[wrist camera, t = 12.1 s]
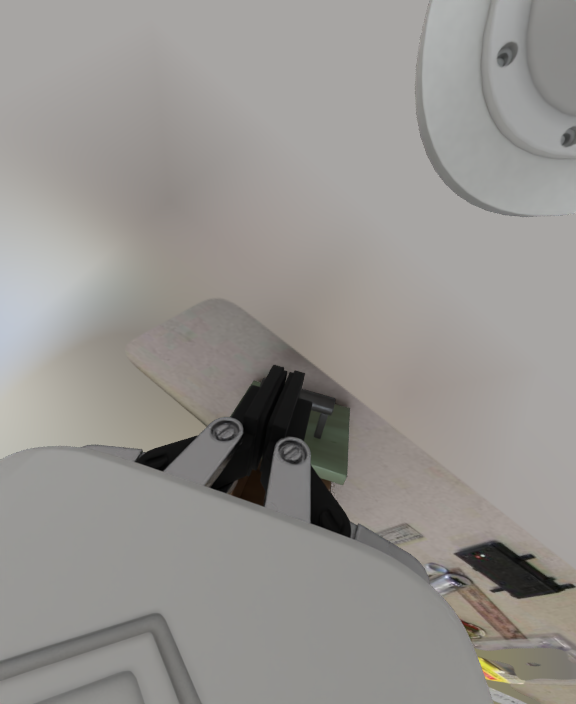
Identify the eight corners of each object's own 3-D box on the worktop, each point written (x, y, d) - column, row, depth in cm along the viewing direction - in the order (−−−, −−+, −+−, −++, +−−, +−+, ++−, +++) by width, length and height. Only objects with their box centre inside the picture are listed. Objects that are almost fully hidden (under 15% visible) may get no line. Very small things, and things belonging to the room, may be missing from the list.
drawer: (257, 346, 24) (219, 393, 18) (362, 374, 23) (365, 437, 16) (244, 460, 33) (216, 520, 26) (320, 485, 32) (310, 556, 25)
